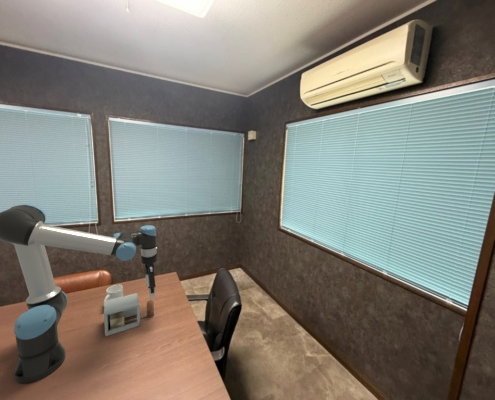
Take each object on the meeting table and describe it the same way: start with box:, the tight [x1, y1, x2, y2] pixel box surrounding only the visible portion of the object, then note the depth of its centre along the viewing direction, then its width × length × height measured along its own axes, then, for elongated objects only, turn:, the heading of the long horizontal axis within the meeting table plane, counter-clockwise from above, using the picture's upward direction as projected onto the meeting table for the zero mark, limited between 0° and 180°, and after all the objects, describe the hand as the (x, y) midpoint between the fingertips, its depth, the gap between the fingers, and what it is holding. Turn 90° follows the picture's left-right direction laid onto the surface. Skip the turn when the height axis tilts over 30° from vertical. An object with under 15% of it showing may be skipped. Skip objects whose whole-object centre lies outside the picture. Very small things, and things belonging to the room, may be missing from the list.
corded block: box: [109, 299, 155, 330], centre depth 115 cm, size 20×6×8 cm, turn 122°
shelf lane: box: [103, 292, 141, 337], centre depth 112 cm, size 15×11×12 cm
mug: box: [103, 284, 124, 307], centre depth 125 cm, size 12×8×10 cm
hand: (150, 291), depth 118 cm, fingers open, 13 cm apart
